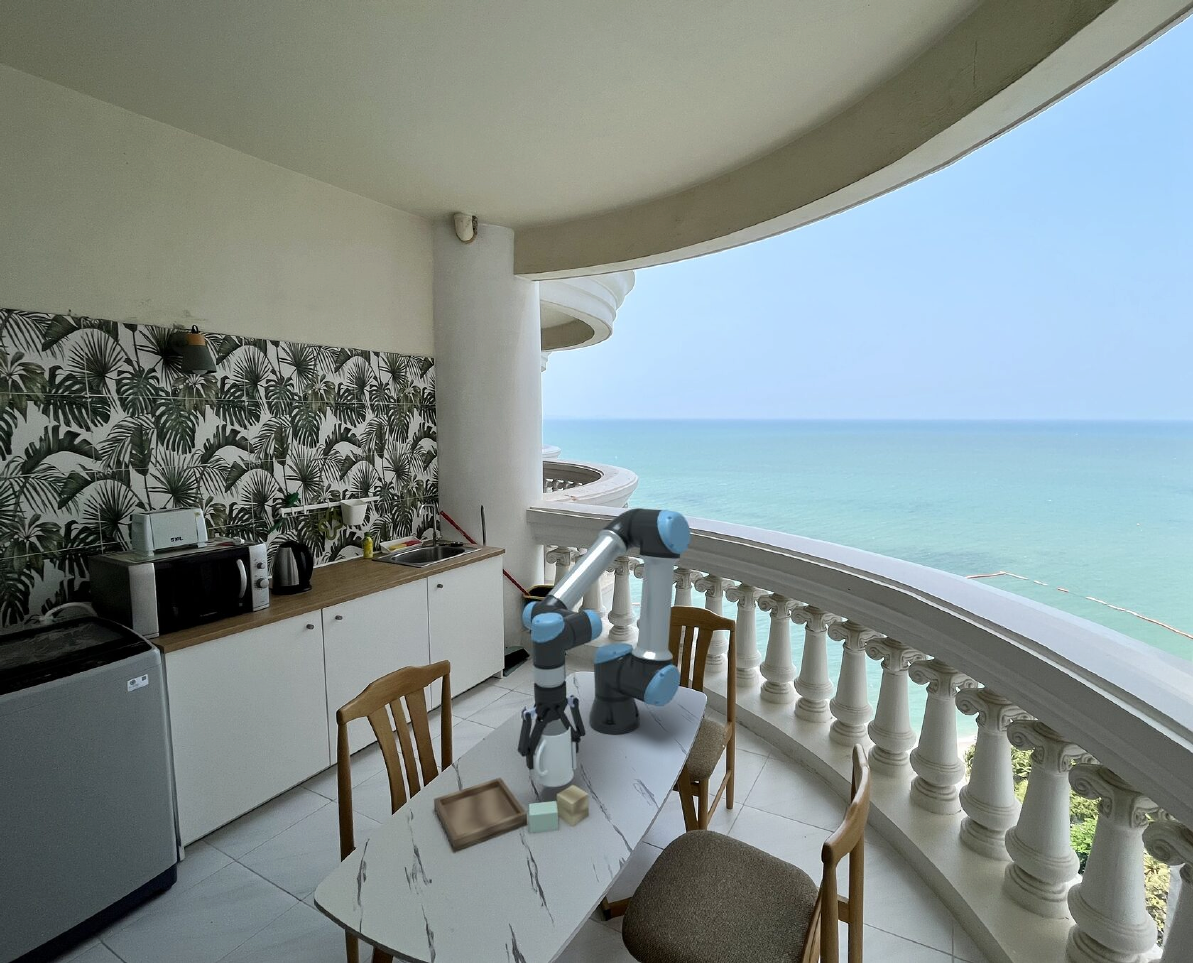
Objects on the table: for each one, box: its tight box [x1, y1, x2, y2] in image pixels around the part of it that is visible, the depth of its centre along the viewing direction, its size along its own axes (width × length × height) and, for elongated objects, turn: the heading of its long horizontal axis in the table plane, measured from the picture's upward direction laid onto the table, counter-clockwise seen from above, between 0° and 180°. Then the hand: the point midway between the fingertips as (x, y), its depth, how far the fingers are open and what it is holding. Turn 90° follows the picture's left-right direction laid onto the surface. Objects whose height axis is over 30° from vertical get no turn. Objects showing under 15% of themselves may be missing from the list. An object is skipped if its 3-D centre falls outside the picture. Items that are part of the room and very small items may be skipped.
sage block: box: [528, 800, 559, 834], centre depth 121 cm, size 6×4×4 cm, turn 99°
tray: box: [433, 777, 528, 853], centre depth 124 cm, size 16×16×2 cm
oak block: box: [556, 784, 590, 827], centre depth 124 cm, size 5×5×5 cm
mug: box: [536, 719, 574, 788], centre depth 130 cm, size 12×8×12 cm
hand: (553, 773), depth 131 cm, fingers closed on mug, 9 cm apart
